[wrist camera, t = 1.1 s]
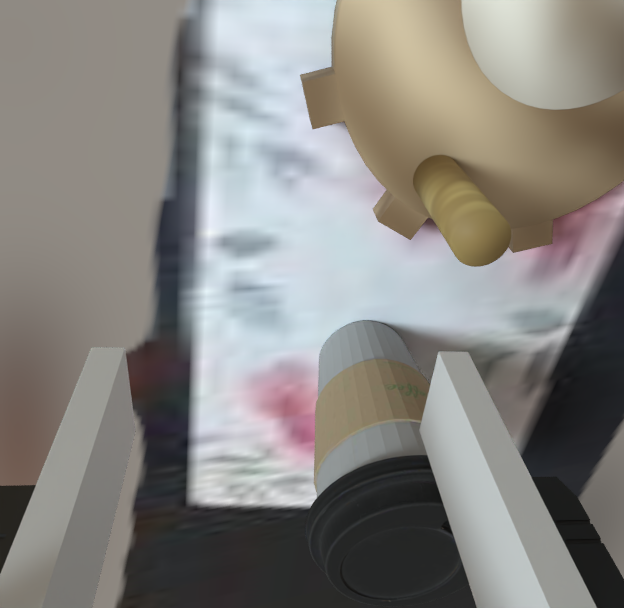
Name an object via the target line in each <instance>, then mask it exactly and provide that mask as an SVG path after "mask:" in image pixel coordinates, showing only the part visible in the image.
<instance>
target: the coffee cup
mask: <svg viewBox="0 0 624 608" xmlns="http://www.w3.org/2000/svg"><path fill="white" fill-rule="evenodd" d="M429 388H430V384H429V382H428V381H427V380H426V378H425V377H424V376H423V375H422V374H421V372H420V370H419V369H418V367H417V365H416V363H415V361H414V359H413V358H412V356H411V354H410V352H409V350H408V349H407V347H406V345H405V343H404V341H403V340H402V339H401V337H400V336H399V335H398V334H397V333H396V332H395V331H394V330H393V329H391V328H390V327H388V326H386V325H384V324H382V323H379V322H374V321H358V322H353V323H351V324H348V325H346V326H344V327H342V328H340V329H339V330H337V331H336V332H335V333H334V334H332V335H331V336H330V337H329V338H328V340H327V341H326V342H325V344H324V345H323V347H322V349H321V352H320V356H319V381H318V400H317V402H316V411H315V460H314V485H315V488H316V492H317V499H316V500H315V501H314V503H313V504H312V506H311V508H310V510H309V512H308V515H307V518H306V522H305V535H306V539H307V542H308V545H309V548H310V553H311V555H312V558H313V559H314V561H315V563H316V564H317V565H318V567H319V568H320V569H321V570H322V571H323V572H324V573H326V574H327V577H328V578H329V580H330V582H331V583H332V585H333V586H334V587H335V588H336V589H337V590H338V591H339V592H340V593H342V594H343V595H345V596H347V597H349V598H351V599H353V600H355V601H358V602H361V603H365V604H370V605H376V606H388V607H397V606H409V605H416V604H421V603H426V602H430V601H433V600H437V599H440V598H442V597H445V596H447V595H450V594H452V593H454V592H456V591H458V590H460V589H462V588H463V587H465V586H466V585H468V584H469V581H468V578H467V575H466V572H465V569H464V566H463V563H462V560H461V557H460V554H459V551H458V547H457V544H456V541H455V538H454V535H453V532H452V529H451V526H450V523H449V520H448V517H447V514H446V511H445V508H444V504H443V501H442V498H441V495H440V492H439V489H438V486H437V483H436V480H435V477H434V474H433V471H432V468H431V465H430V462H429V458H428V455H427V452H426V449H425V446H424V443H423V440H422V437H421V434H420V431H419V429H420V425H421V421H422V417H423V413H424V409H425V405H426V401H427V397H428V393H429Z"/></svg>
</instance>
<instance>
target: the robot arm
mask: <svg viewBox="0 0 624 608" xmlns="http://www.w3.org/2000/svg"><path fill="white" fill-rule="evenodd" d="M419 431H420V434H421V437H422V440H423V443H424V446H425V449H426V452H427V455H428V458H429V462H430V465H431V468H432V471H433V474H434V477H435V480H436V483H437V486H438V489H439V492H440V495H441V498H442V501H443V504H444V508H445V511H446V514H447V517H448V520H449V523H450V526H451V529H452V532H453V535H454V538H455V541H456V544H457V547H458V551H459V554H460V557H461V560H462V563H463V566H464V569H465V572H466V575H467V578H468V581H469V584H470V587H471V590H472V594H473V597H474V600H475V603H476V606H477V608H624V579H623V577H622V575H621V574H620V572H619V570H618V568H617V566H616V565H615V563H614V561H613V559H612V558H611V556H610V554H609V552H608V551H607V549H606V547H605V546H604V544H603V543H601V541H600V536H599V535H598V533H597V531H596V530H595V528H594V526H593V524H590V519H589V517H588V515H587V514H586V512H585V510H584V508H583V507H582V505H581V503H580V501H579V499H578V498H577V496H576V495H575V494H574V493H573V492H572V491H571V490H570V489H568V488H567V487H566V486H565V485H564V484H563V483H562V482H561V481H560V480H559V479H558V478H557V477H531V476H530V474H529V472H528V470H527V468H526V466H525V464H524V462H523V460H522V458H521V456H520V454H519V452H518V450H517V448H516V446H515V444H514V442H513V440H512V438H511V436H510V434H509V432H508V430H507V428H506V426H505V424H504V422H503V420H502V418H501V416H500V414H499V412H498V410H497V408H496V406H495V404H494V402H493V400H492V398H491V396H490V394H489V393H488V391H487V389H486V387H485V385H484V383H483V381H482V379H481V377H480V375H479V373H478V371H477V369H476V367H475V365H474V363H473V361H472V359H471V357H470V355H469V353H468V352H452V351H439V352H438V356H437V360H436V364H435V368H434V372H433V376H432V380H431V384H430V388H429V393H428V397H427V401H426V405H425V409H424V413H423V417H422V421H421V425H420V429H419ZM135 432H136V431H135V423H134V415H133V407H132V399H131V392H130V384H129V376H128V368H127V360H126V353H125V348H94V347H92V348H91V350H90V352H89V355H88V357H87V360H86V362H85V365H84V367H83V370H82V372H81V375H80V377H79V380H78V382H77V385H76V387H75V390H74V392H73V395H72V397H71V400H70V402H69V405H68V407H67V410H66V412H65V415H64V417H63V419H62V422H61V424H60V427H59V429H58V432H57V434H56V437H55V440H54V442H53V445H52V447H51V449H50V452H49V454H48V457H47V459H46V462H45V464H44V467H43V469H42V472H41V474H40V477H39V479H38V482H37V484H36V485H30V486H29V485H28V486H26V485H25V486H0V608H92V607H93V602H94V599H95V594H96V590H97V586H98V582H99V578H100V574H101V570H102V565H103V562H104V557H105V554H106V550H107V545H108V541H109V537H110V533H111V529H112V525H113V521H114V517H115V513H116V509H117V505H118V501H119V497H120V493H121V489H122V485H123V481H124V476H125V472H126V468H127V464H128V460H129V456H130V452H131V448H132V444H133V440H134V436H135Z"/></svg>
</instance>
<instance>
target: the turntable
mask: <svg viewBox="0 0 624 608" xmlns="http://www.w3.org/2000/svg"><path fill="white" fill-rule="evenodd" d="M300 77H301V81H302V86H303V90H304V95H305V99H306V104H307V108H308V113H309V117H310V121H311V125H312V128H313V129H316V128H320V127H324V126H328V125H332V124H336V123H340V122H345V124H346V127H347V129H348V132H349V134H350V137H351V139H352V141H353V143H354V145H355V147H356V149H357V151H358V152H359V154H360V156H361V157H362V159H363V161H364V163H365V164H366V166H367V167H368V168H369V170H370V171H371V172H372V173H373V175H374V176H375V177H376V179H377V180H378V181H379V182H380V183H381V184H382V185H383V186H384V187H385V188H386V189H387V190H386V191H385V193H384V194H383V196H382V197H381V198H380V200H379V201H378V203H377V204H376V205H375V207H374V208H373V211H374V213H375V215H376V218H377V220H378V222H380V223H382V224H384V225H385V226H387V227H389V228H390V229H392V230H394V231H396V232H397V233H399V234H401V235H403V236H404V237H406V238H408V239H410V240H411V239H412V238H413V236H414V235H415V234H416V232H417V231H418V230H419V229H420V227H421V226H422V225H423V223H424V222H425V221H426V220H427V218H428V217H429V218H431V219H433V220H434V222H435V224H436V225H437V227H438V228H439V230H440V232H441V233H442V235H443V237H444V238H445V240H446V241H447V243H448V245H449V246H450V248H451V250H452V251H453V253H454V254H455V256H456V257H457V259H458V260H459V261H460V262H462V263H463V264H466V265H468V266H484V265H487V264H490V263H492V262H494V261H496V260H497V259H498V258H500V257H501V256H502V255H503V254H504V252H505V251H506V250H507V248H508V247H509V248H510V250H511V251H512V252H513V253H514V252H519V251H523V250H527V249H532V248H536V247H540V246H545V245H549V244H552V233H553V219H556V218H558V217H561V216H563V215H566V214H568V213H570V212H573V211H575V210H577V209H579V208H581V207H583V206H585V205H587V204H589V203H590V202H592V201H594V200H596V199H598V198H599V197H601V196H602V195H604V194H605V193H607V192H608V191H610V190H611V189H613V188H614V187H616V186H617V185H619V184H620V183H621V182H622V181H624V0H337V2H336V6H335V12H334V20H333V29H332V67H329V68H325V69H321V70H317V71H314V72H310V73H306V74H302V75H300Z"/></svg>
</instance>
